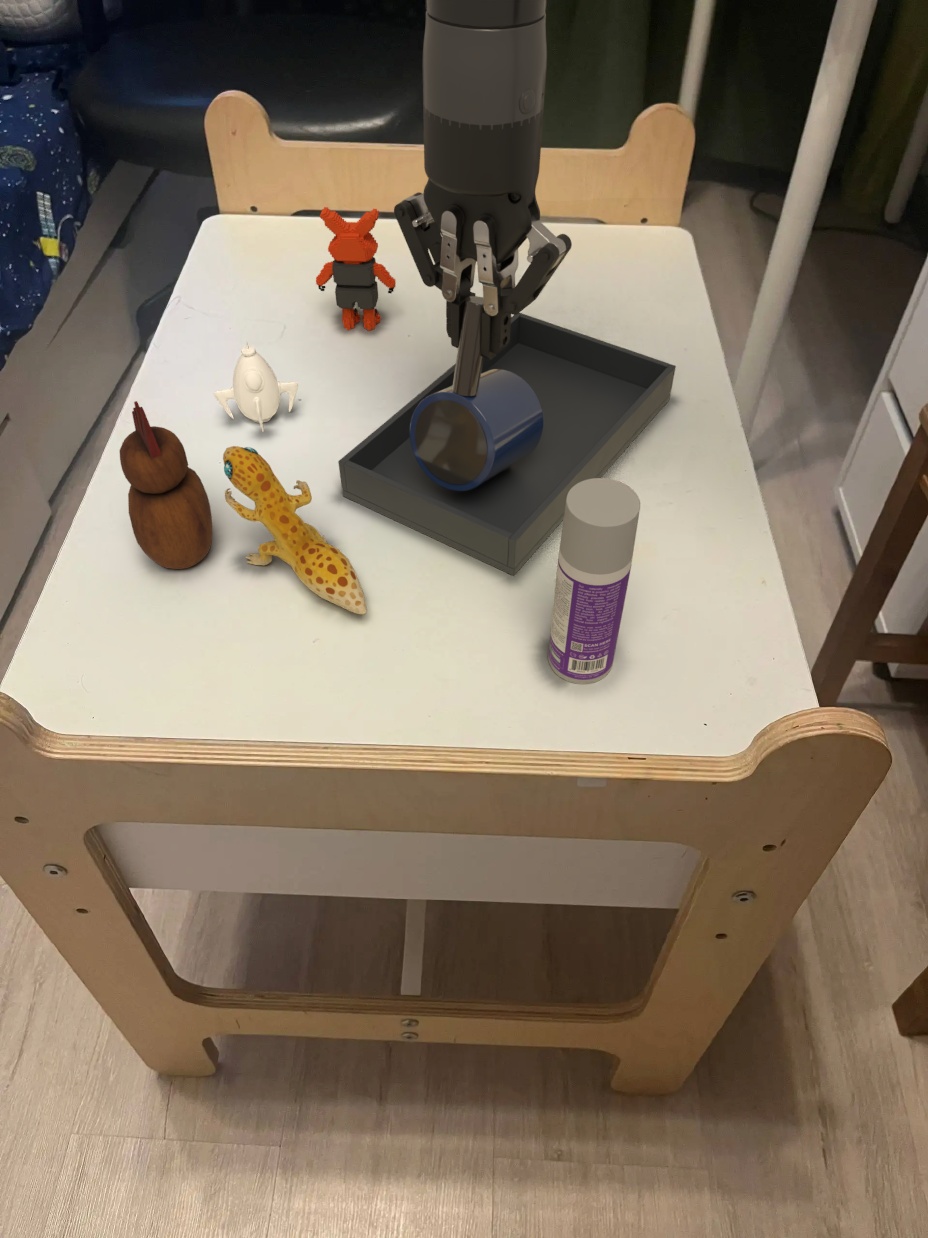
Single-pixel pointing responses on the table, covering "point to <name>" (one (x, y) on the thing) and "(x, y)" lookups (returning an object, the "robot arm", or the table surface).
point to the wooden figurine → (165, 496)
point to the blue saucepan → (475, 417)
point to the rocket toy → (255, 388)
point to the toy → (290, 530)
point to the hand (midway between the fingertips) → (477, 347)
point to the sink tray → (538, 484)
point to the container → (592, 578)
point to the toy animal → (354, 268)
